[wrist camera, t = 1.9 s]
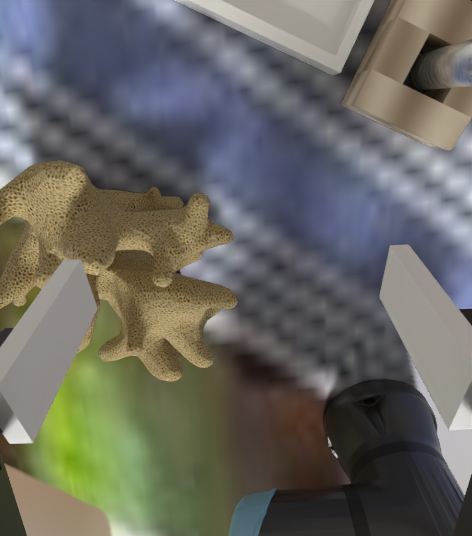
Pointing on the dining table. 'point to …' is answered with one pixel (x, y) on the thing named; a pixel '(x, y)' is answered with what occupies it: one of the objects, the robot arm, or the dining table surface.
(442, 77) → the steel pin
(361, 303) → the dining table surface
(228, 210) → the dining table surface
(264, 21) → the tray
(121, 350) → the decorative coral
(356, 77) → the pin block
